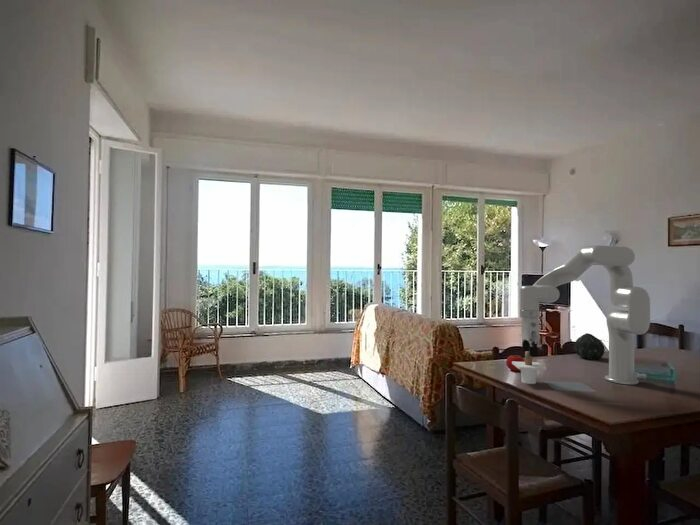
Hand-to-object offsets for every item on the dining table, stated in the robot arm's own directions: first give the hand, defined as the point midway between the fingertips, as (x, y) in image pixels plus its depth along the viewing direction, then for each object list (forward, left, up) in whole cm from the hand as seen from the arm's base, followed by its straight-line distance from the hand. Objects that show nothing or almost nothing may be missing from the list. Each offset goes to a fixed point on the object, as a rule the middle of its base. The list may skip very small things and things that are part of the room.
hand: (529, 353), depth 180 cm
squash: (-51, -60, -13) cm, 80 cm away
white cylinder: (0, 0, -13) cm, 13 cm away
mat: (-15, +4, -13) cm, 20 cm away
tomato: (-1, -23, -13) cm, 26 cm away
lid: (+1, 0, -6) cm, 6 cm away
